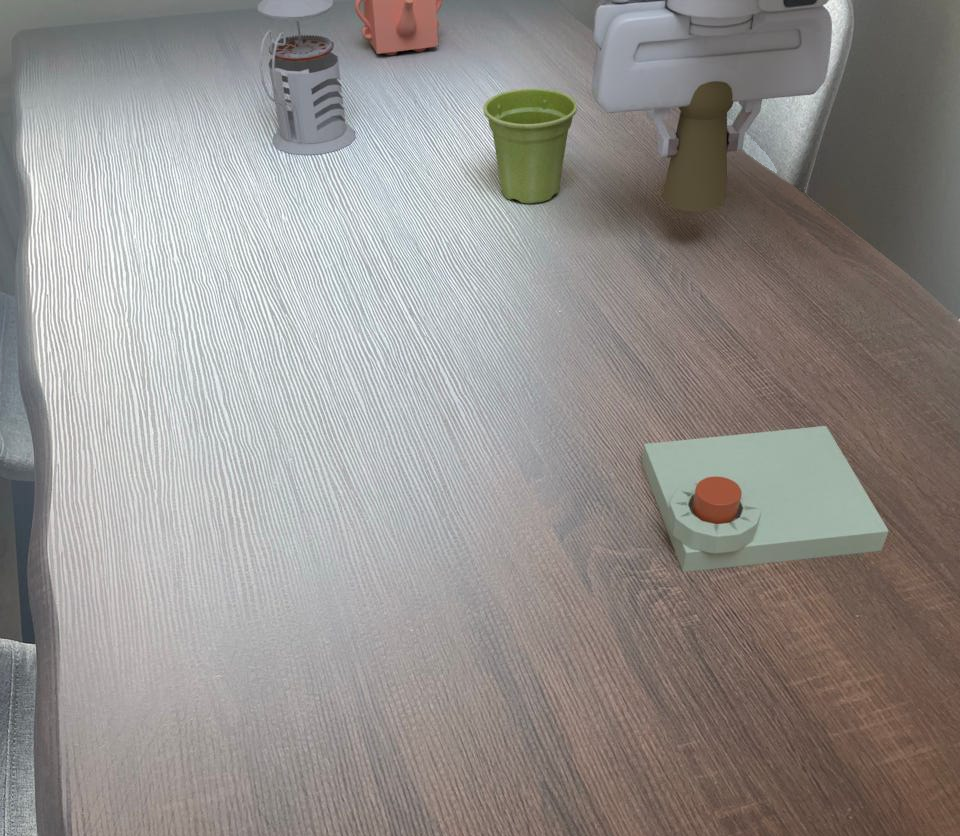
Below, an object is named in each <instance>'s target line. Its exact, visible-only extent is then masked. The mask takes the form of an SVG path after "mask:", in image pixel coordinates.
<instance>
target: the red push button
mask: <svg viewBox="0 0 960 836" xmlns="http://www.w3.org/2000/svg"><path fill="white" fill-rule="evenodd" d="M741 494H742V492H741V489H740V487H739V485H738V484H737V483H735V482H734V481H732V480H730V479H728V478H724V477H718V476H714V477H708V478H705V479H703V480H701V481H700V482H699V483H698V484H697V486H696V489H695V495H694V501H693V507H692V509H693V513H694V514H695V516H696V517H697V518H699V519H700V520H702V521H705V522H709V523H713V524H723V523H729V522H731V521H733V520H734V519H735V518H736V516H737V513H738V509H739V504H740V499H741Z"/></svg>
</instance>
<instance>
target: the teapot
mask: <svg viewBox="0 0 960 836" xmlns="http://www.w3.org/2000/svg"><path fill="white" fill-rule="evenodd" d="M361 3H362V7H363V12H362V10H361V8H360V7H361ZM442 5H443V0H355V1H354V10H355V13H356V14H357V16H358V18H359V19H360V20H361V22H362V23H363V24H364V26H363V27H362V28H361V35H362V38H364V39H365V40H368V42H369V44H370V46H371V47H372V49H373V50H374V51H375V53H376V54H377V55H379V54H385V55H386V56H395V55H397V54H398V52H404V51H409V50H410V51H412V50H413V52H418V53H420V52H424V50H425V51H426V49H428V48H436V47H438V46H439V42H438V41H439V40H438V39H439V38H438V30H439V28H440V20H439V19H438V18H437V14H439V13H438V12H439V11H440V9H441V7H442Z"/></svg>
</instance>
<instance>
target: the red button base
mask: <svg viewBox="0 0 960 836" xmlns="http://www.w3.org/2000/svg"><path fill="white" fill-rule="evenodd" d="M641 457H642V458H641V466H642V468H643V472H644V474H645V476H646V478H647V482H648V483H649V487H650V489H651V492H652V494H653V497H654V500H655V503H656V505H657V508H658V511H659V513H660V516H661V518H662V520H663V524H664V527H665V529H666V532H667V534H668V537H669V540H670V542H671V545H672V548H673V550H674V554H675V555H676V558H677V561H678V563H679V567H680V569H681V571H682V573H692V572H700V571H708V570H719V569H728V568H734V567H735V568H736V567H737V568H738V567H746V566H757V565H765V564H773V563H782V562H783V563H784V562H792V561H801V560H802V561H803V560H811V559H820V558H829V557H830V558H831V557H838V556H839V557H840V556H847V555H848V556H849V555H857V554H866V553H876V552H882V551H883V548H884V545H885V542H886V540H887V537H888V534H889V532H890V531H889V528H888V527H887V525H886V524H885V522H884V520H883V519H882V517H881V514H879V512H878V510H877V508H876V507H875V505H874V503H873V502H872V500H871V498H870V497H869V494H868V493H867V492H866V490H865V488H864V487H863V484H862V483H861V482H860V480H859V478H858V476H857V475H856V473H855V472H854V470H853V468H852V466H851V465H850V463H849V461H848V460H847V458H846V457H845V455H844V454H843V452H842V450H841V448H840V447H839V445H838V443H837V442H836V440H835V438H834V436H833V435H832V433H831V431H830V430H829V428H828V426H826V425H819V426H811V427H801V428H800V427H799V428H790V429H781V430H779V429H778V430H770V431H762V432H761V431H760V432H759V431H758V432H751V433H749V432H748V433H740V434H731V435H730V434H729V435H719V436H708V437H700V438H690V439H689V438H688V439H679V440H670V441H659V442H649V443H644V444H643V451H642V456H641ZM714 476H718V477H724V478H728V479H730V480H732V481H734V482H735V483H737V484H738V485H739V487H740V489H741V492H742V494H741V499H740V504H739V509H738V513H737V516H736V518H735V519H734V520H733V521H731V522H729V523H723V524H713V523H709V522H705V521H702V520H700V519H699V518H697V517H696V516H695V514H694V513H693V509H692V507H693V501H694V495H695V489H696V486H697V484H698V483H699V482H700V481H701V480H703V479H705V478H708V477H714Z"/></svg>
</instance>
